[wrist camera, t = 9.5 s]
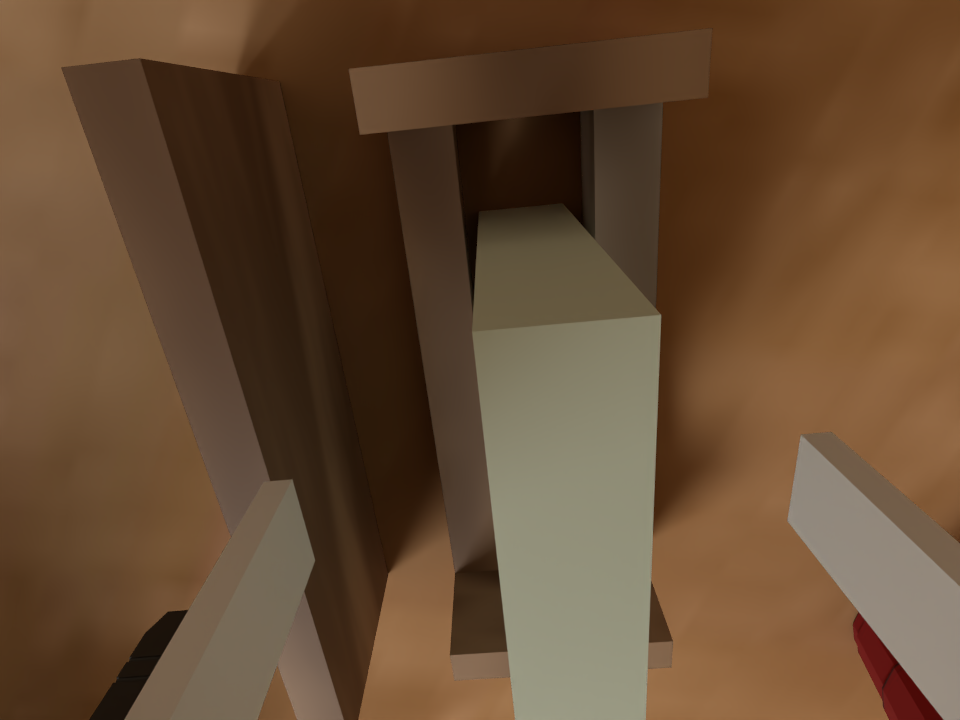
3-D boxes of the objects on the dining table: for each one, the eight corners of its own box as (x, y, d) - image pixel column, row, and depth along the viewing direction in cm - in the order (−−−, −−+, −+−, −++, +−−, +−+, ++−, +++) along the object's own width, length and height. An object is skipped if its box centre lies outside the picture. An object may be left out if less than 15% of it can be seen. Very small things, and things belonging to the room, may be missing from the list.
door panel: (505, 483, 25) (522, 779, 14) (478, 211, 20) (471, 331, 9) (572, 478, 24) (643, 773, 14) (562, 203, 20) (660, 314, 9)
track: (355, 577, 27) (307, 749, 20) (231, 86, 18) (60, 67, 11) (631, 557, 26) (689, 728, 19) (641, 40, 17) (755, -13, 10)
